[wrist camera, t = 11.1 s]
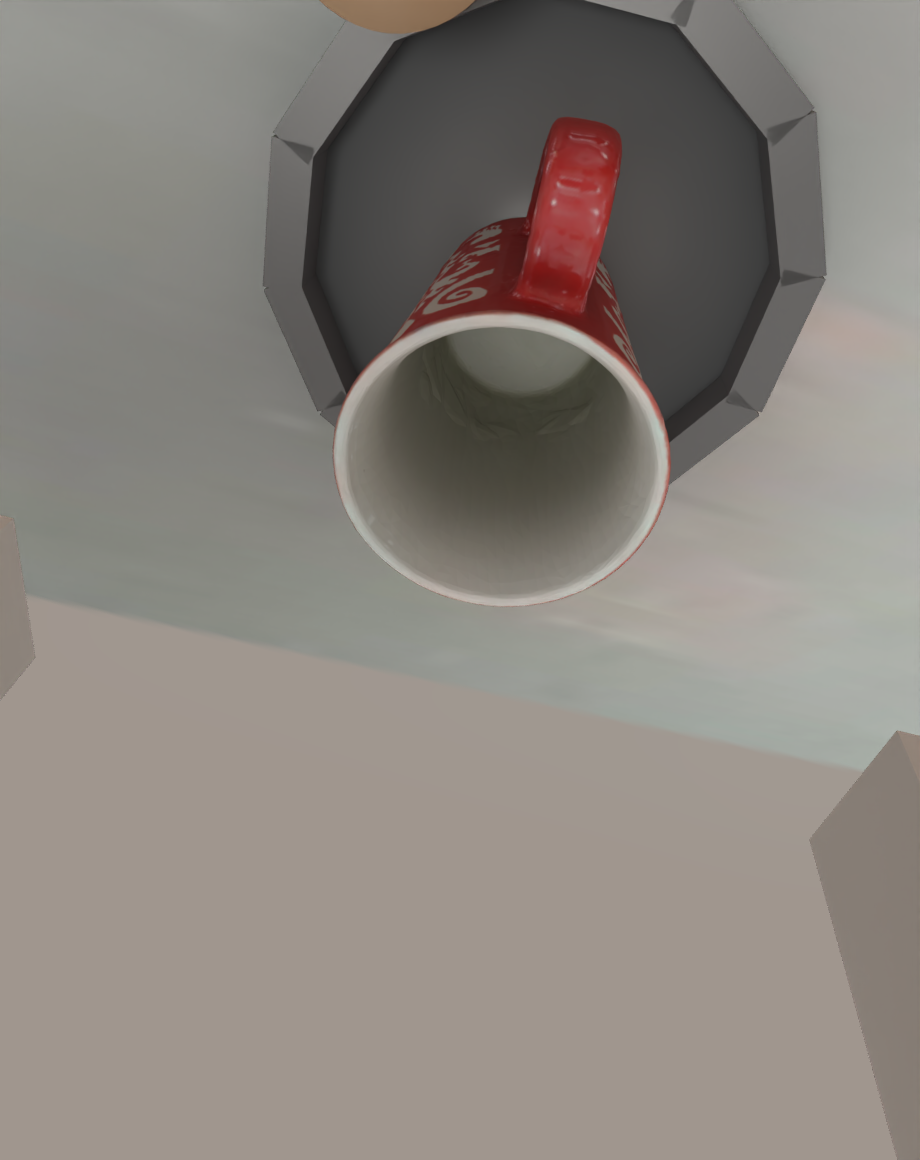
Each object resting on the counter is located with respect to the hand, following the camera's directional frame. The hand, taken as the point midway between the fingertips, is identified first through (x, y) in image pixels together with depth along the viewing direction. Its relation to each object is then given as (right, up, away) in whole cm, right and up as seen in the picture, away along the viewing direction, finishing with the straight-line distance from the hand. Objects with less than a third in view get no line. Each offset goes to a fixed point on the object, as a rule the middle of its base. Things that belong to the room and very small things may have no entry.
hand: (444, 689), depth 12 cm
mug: (+3, +14, +19) cm, 24 cm away
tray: (+3, +14, +20) cm, 25 cm away
